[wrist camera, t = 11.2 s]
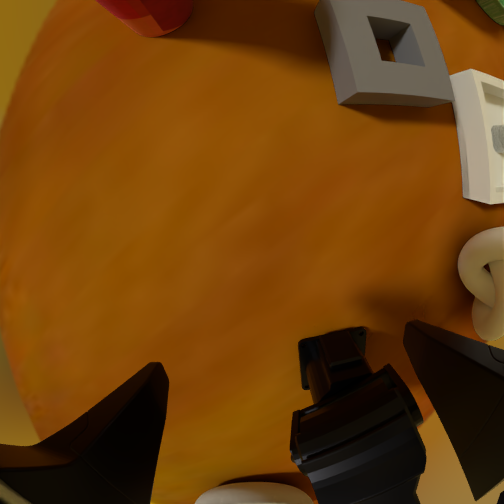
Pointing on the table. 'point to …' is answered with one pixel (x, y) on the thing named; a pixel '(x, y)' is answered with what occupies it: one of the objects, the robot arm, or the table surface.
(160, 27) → the paper cup
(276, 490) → the serving bowl
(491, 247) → the white knot sculpture
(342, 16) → the block
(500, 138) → the pin
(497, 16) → the ramekin
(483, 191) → the tray
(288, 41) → the table surface
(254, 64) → the table surface
